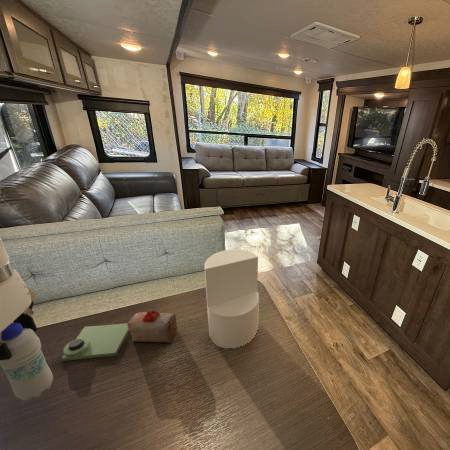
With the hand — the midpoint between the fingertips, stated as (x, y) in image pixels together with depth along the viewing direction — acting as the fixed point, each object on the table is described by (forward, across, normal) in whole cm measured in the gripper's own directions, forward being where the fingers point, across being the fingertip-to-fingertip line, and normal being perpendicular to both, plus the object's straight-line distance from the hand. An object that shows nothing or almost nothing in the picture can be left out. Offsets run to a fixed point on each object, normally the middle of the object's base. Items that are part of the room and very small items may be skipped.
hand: (15, 344), depth 53 cm
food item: (+22, -20, +19) cm, 35 cm away
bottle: (+15, 0, 0) cm, 15 cm away
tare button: (+20, -16, -1) cm, 26 cm away
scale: (+22, -20, +3) cm, 30 cm away
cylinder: (+22, -20, +45) cm, 54 cm away
